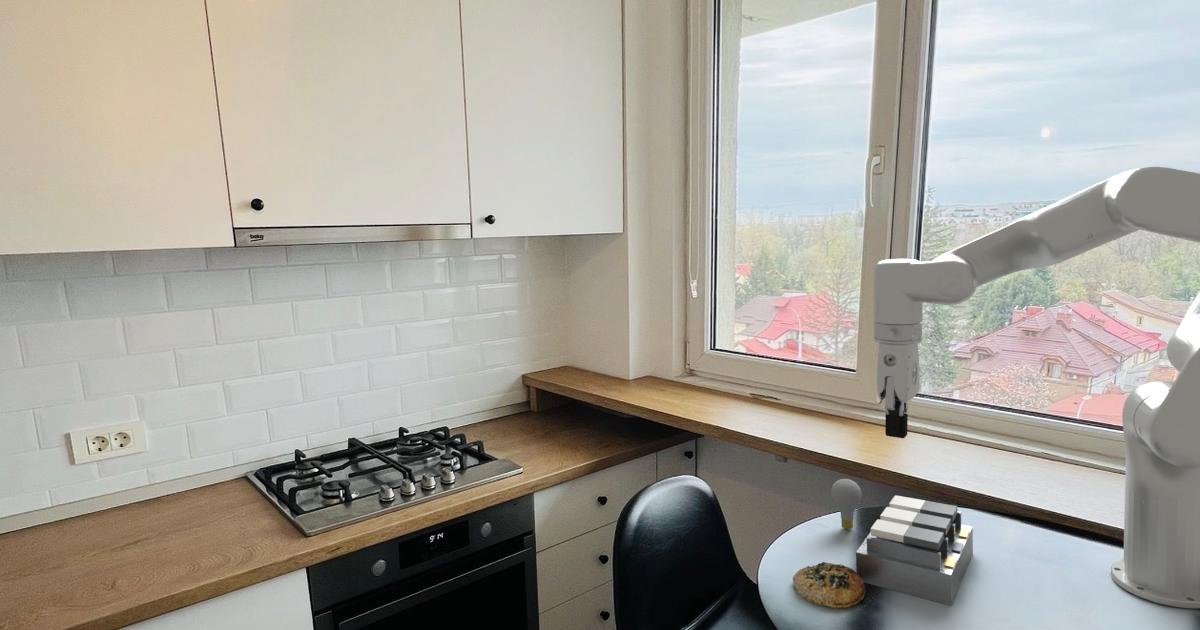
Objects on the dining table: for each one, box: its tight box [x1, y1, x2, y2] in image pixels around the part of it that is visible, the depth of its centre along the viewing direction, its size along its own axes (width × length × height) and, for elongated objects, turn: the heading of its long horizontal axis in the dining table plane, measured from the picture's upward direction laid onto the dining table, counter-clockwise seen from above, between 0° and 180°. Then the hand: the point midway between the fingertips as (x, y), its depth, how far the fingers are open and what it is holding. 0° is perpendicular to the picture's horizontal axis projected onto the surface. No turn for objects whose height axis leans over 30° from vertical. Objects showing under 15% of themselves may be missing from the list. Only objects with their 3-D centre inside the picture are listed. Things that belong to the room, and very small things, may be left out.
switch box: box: [855, 510, 974, 606], centre depth 109 cm, size 14×18×8 cm
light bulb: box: [830, 478, 863, 531], centre depth 124 cm, size 6×6×10 cm
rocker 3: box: [870, 519, 944, 550], centre depth 104 cm, size 10×4×1 cm, turn 51°
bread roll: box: [792, 561, 866, 610], centre depth 104 cm, size 11×11×5 cm
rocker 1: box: [888, 495, 958, 522], centre depth 112 cm, size 10×4×1 cm, turn 51°
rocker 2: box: [879, 506, 951, 535], centre depth 108 cm, size 10×4×1 cm, turn 51°
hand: (896, 435), depth 112 cm, fingers closed
